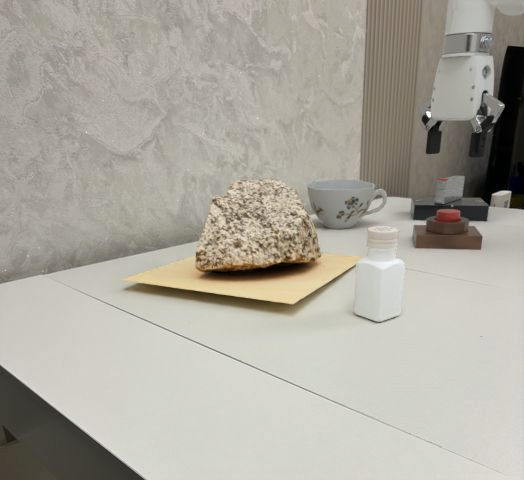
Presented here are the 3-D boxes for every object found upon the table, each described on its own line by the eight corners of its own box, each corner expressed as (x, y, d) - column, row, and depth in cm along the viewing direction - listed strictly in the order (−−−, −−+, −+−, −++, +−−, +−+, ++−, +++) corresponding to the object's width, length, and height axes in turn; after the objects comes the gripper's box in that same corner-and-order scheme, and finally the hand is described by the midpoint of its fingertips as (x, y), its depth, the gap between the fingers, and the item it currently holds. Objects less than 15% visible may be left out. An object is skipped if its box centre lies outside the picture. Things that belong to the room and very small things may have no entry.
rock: (226, 242, 93) (270, 154, 85) (326, 318, 90) (383, 234, 81) (116, 277, 70) (161, 161, 61) (244, 381, 66) (312, 274, 58)
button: (457, 219, 90) (458, 209, 90) (460, 224, 87) (461, 212, 87) (434, 219, 91) (436, 208, 90) (437, 223, 88) (438, 212, 87)
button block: (472, 238, 93) (476, 215, 92) (480, 250, 86) (484, 224, 84) (412, 237, 95) (414, 214, 93) (415, 248, 88) (417, 223, 86)
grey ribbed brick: (452, 197, 115) (455, 174, 113) (462, 198, 114) (465, 174, 112) (434, 203, 109) (436, 178, 107) (443, 204, 108) (446, 179, 106)
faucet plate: (477, 211, 117) (479, 195, 116) (488, 223, 105) (490, 206, 104) (409, 210, 120) (411, 195, 118) (413, 221, 108) (414, 205, 107)
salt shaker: (351, 314, 61) (355, 228, 57) (375, 306, 63) (381, 223, 59) (378, 324, 58) (385, 234, 54) (403, 316, 60) (411, 229, 56)
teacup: (307, 233, 100) (307, 188, 97) (305, 220, 111) (306, 179, 108) (390, 232, 99) (393, 186, 96) (380, 219, 111) (383, 178, 107)
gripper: (526, 44, 88) (508, 157, 95) (440, 53, 101) (430, 151, 108) (496, 42, 84) (480, 159, 91) (412, 51, 97) (403, 153, 104)
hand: (453, 155), depth 99 cm, fingers open, 9 cm apart
